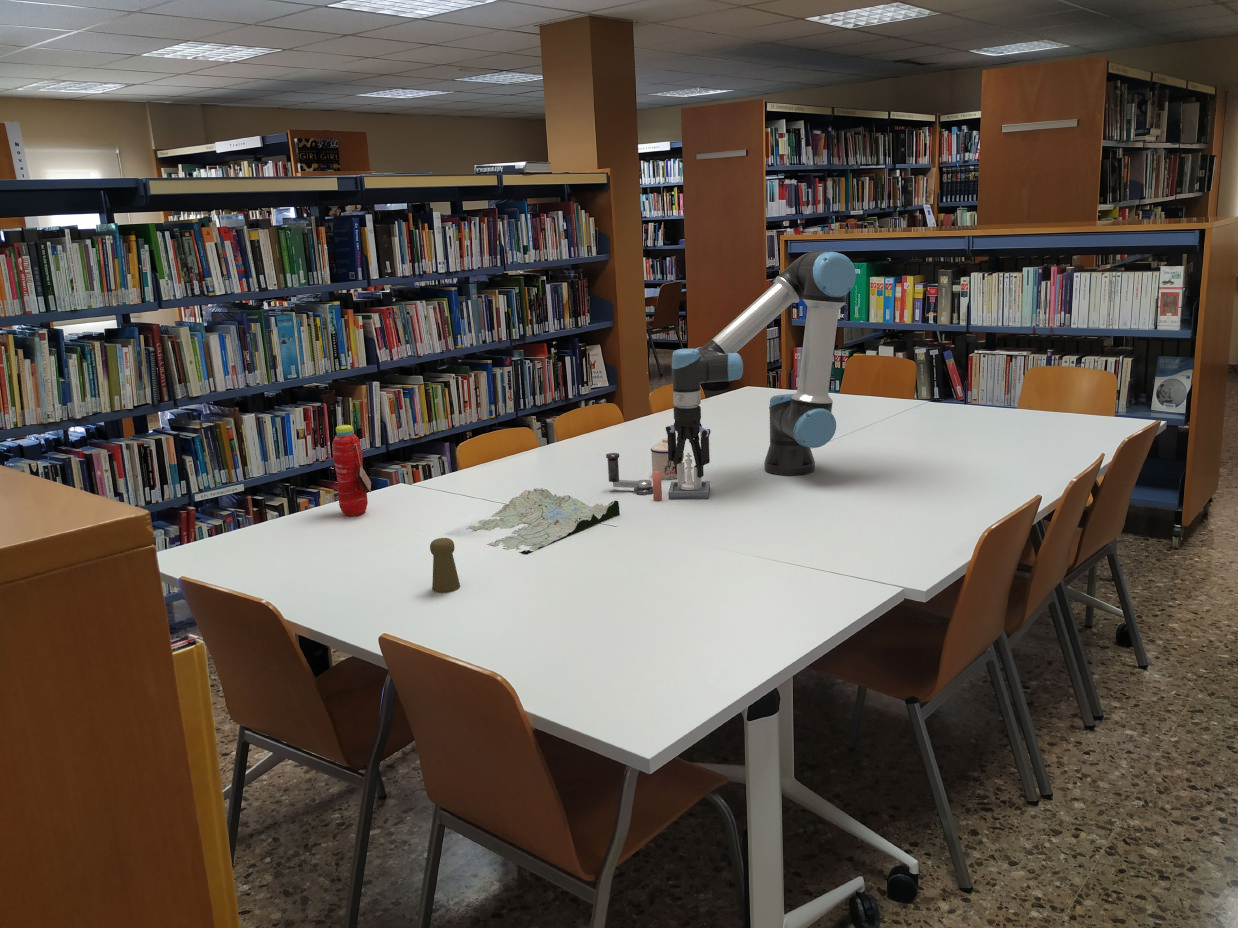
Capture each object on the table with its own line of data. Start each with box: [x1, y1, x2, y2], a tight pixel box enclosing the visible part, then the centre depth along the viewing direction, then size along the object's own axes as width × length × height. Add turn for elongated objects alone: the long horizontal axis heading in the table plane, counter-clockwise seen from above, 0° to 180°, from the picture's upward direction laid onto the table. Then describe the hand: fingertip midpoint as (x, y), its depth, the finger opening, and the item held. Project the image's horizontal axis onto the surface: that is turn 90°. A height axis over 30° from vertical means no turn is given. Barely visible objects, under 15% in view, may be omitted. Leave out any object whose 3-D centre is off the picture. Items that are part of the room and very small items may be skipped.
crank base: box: [633, 486, 653, 496], centre depth 266 cm, size 6×6×1 cm
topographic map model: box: [466, 487, 621, 555], centre depth 242 cm, size 36×29×5 cm
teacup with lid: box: [650, 437, 685, 481], centre depth 281 cm, size 12×9×12 cm
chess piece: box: [681, 452, 694, 490], centre depth 261 cm, size 5×5×10 cm
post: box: [651, 471, 663, 502], centre depth 257 cm, size 2×2×8 cm
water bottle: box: [331, 424, 372, 517], centre depth 255 cm, size 12×8×25 cm, turn 52°
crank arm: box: [605, 452, 653, 489], centre depth 266 cm, size 13×4×9 cm, turn 73°
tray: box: [667, 480, 711, 500], centre depth 262 cm, size 11×11×2 cm
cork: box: [429, 537, 461, 594], centre depth 201 cm, size 6×6×11 cm
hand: (689, 486), depth 262 cm, fingers closed on chess piece, 5 cm apart
